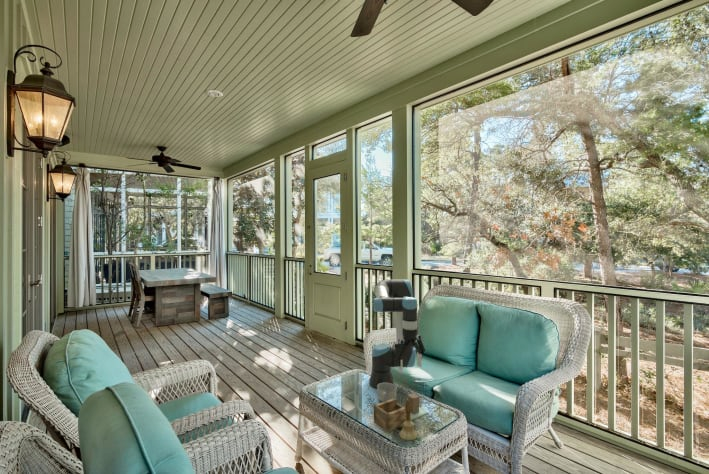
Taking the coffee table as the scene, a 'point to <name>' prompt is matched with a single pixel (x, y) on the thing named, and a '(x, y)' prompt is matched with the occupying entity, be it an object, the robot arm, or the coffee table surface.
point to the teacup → (386, 391)
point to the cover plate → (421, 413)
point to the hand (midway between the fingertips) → (409, 369)
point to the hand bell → (408, 425)
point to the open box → (390, 414)
